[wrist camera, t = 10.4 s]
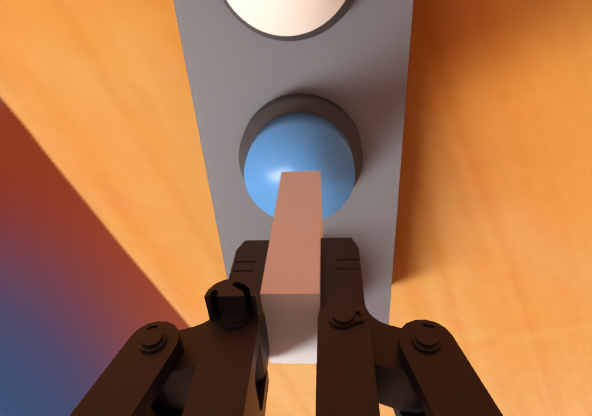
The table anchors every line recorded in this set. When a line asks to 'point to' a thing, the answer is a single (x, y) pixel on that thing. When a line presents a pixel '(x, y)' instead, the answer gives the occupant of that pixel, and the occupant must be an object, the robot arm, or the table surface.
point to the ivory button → (286, 14)
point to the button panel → (305, 99)
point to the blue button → (299, 159)
